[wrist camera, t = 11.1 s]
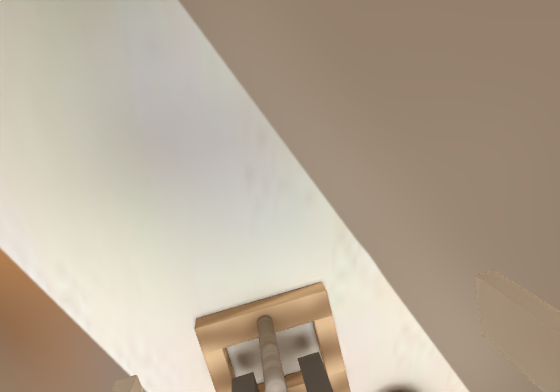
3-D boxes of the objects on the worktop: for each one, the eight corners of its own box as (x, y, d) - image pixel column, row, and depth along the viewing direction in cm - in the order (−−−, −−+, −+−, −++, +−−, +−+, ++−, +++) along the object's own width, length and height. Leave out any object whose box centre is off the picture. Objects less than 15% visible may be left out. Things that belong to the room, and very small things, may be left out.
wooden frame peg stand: (196, 318, 39) (181, 403, 28) (321, 282, 40) (358, 348, 29) (229, 416, 42) (228, 529, 31) (345, 380, 43) (387, 476, 32)
